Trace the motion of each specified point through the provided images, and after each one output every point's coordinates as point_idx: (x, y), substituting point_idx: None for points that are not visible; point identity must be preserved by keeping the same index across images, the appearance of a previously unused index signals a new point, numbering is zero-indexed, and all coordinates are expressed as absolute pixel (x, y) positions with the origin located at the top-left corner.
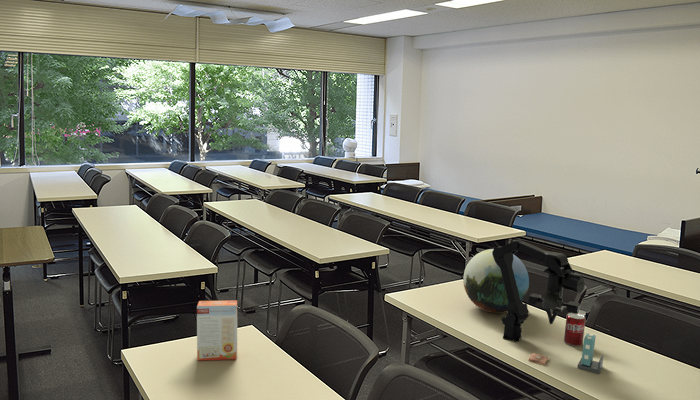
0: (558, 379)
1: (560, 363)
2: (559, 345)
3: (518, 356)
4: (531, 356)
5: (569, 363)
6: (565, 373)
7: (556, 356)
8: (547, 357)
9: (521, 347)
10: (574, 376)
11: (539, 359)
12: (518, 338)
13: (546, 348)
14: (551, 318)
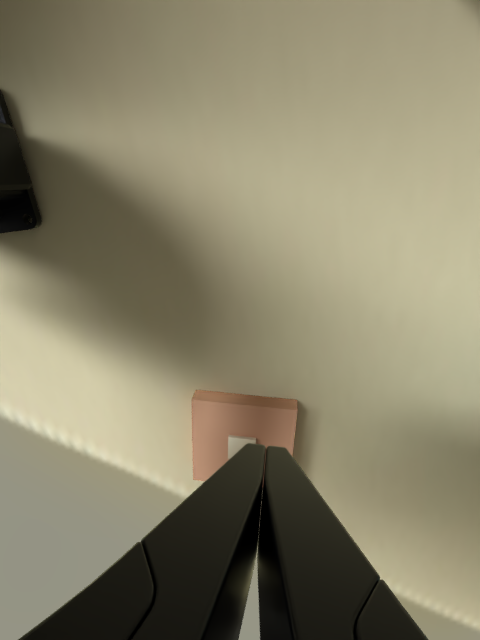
0: None
1: (378, 417)
2: (353, 56)
3: (135, 443)
4: (200, 452)
5: (438, 389)
6: (410, 519)
7: (344, 325)
8: (292, 419)
9: (100, 310)
10: (460, 531)
11: None
12: (19, 196)
13: (255, 217)
14: (249, 569)
